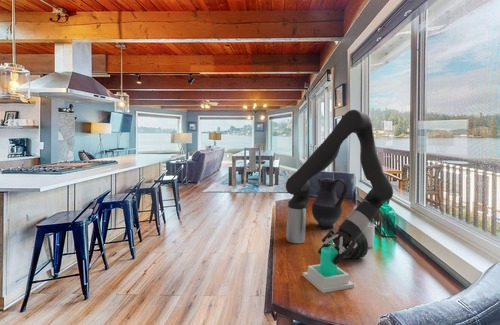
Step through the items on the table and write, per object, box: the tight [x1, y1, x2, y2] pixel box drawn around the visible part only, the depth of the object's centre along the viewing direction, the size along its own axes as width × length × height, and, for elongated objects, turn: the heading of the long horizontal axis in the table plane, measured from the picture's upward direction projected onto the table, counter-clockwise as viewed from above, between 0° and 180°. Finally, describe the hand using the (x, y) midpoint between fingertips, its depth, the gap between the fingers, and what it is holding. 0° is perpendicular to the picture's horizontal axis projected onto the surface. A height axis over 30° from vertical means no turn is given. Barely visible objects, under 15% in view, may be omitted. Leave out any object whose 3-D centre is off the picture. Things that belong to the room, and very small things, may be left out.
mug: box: [363, 222, 376, 249], centre depth 145 cm, size 12×9×11 cm
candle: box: [319, 246, 338, 277], centre depth 106 cm, size 6×6×12 cm
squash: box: [333, 233, 369, 259], centre depth 130 cm, size 14×15×15 cm
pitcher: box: [311, 178, 348, 230], centre depth 170 cm, size 17×21×30 cm
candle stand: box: [302, 263, 355, 294], centre depth 106 cm, size 13×13×4 cm
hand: (326, 258), depth 105 cm, fingers open, 8 cm apart
